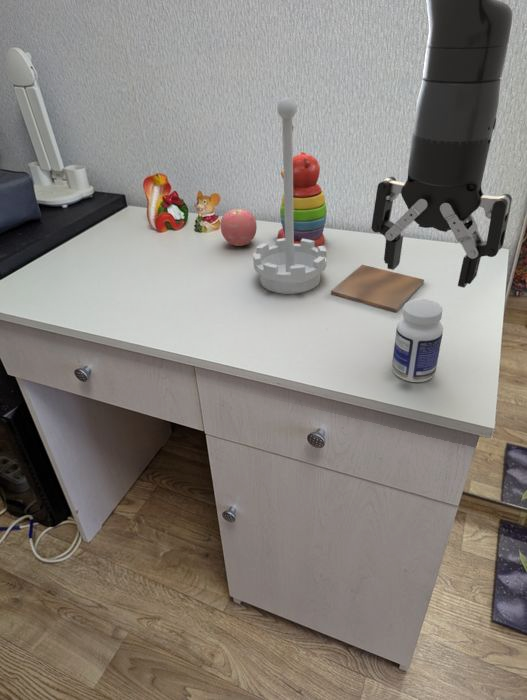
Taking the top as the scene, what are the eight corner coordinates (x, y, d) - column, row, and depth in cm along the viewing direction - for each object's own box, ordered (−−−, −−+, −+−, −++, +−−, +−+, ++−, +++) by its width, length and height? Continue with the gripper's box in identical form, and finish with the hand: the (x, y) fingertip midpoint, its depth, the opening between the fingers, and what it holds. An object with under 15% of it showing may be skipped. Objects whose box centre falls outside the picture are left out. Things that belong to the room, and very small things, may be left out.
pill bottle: (436, 361, 68) (448, 299, 62) (433, 387, 64) (446, 322, 58) (393, 355, 70) (402, 293, 64) (388, 379, 65) (396, 315, 60)
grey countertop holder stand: (321, 299, 84) (325, 104, 66) (247, 294, 86) (232, 106, 69) (329, 265, 94) (335, 89, 77) (263, 262, 97) (254, 91, 79)
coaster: (424, 282, 87) (424, 279, 87) (396, 312, 79) (396, 309, 79) (362, 267, 93) (362, 264, 93) (330, 293, 85) (330, 290, 85)
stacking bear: (277, 233, 108) (275, 148, 98) (323, 232, 108) (326, 146, 97) (277, 254, 99) (274, 163, 89) (327, 253, 99) (330, 161, 88)
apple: (220, 239, 107) (217, 203, 102) (254, 235, 108) (251, 199, 103) (224, 253, 101) (220, 215, 96) (259, 249, 102) (257, 211, 97)
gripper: (370, 130, 50) (358, 273, 60) (519, 145, 43) (479, 305, 53) (399, 116, 55) (384, 251, 64) (538, 128, 48) (498, 277, 57)
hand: (427, 275), depth 59 cm, fingers open, 8 cm apart
